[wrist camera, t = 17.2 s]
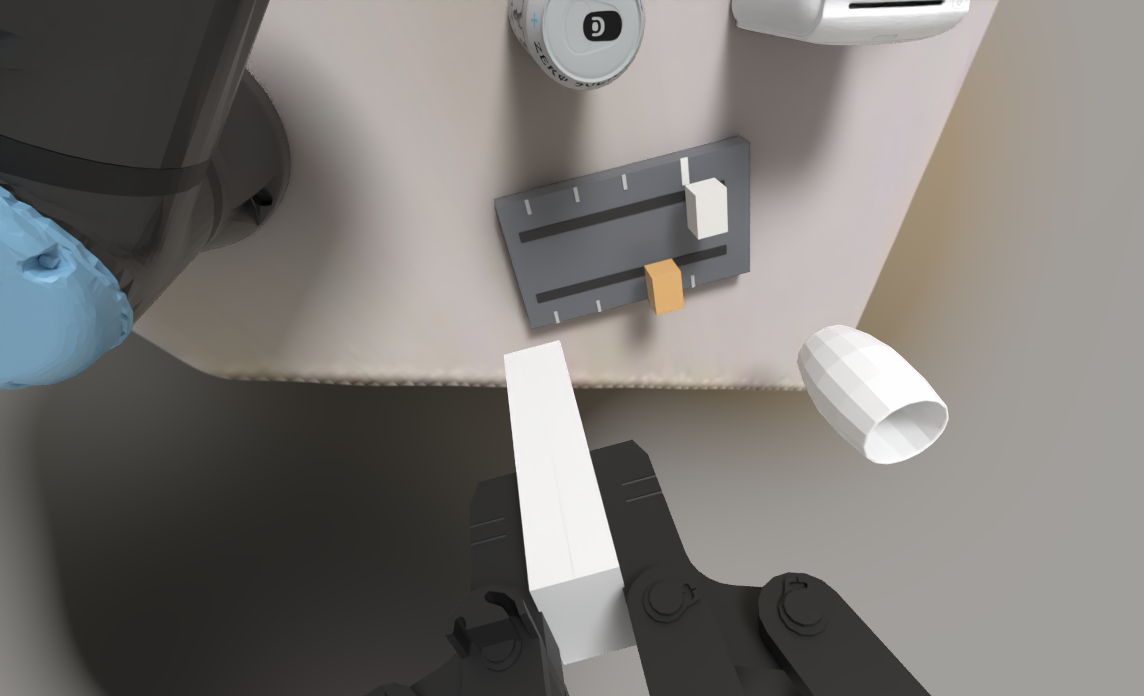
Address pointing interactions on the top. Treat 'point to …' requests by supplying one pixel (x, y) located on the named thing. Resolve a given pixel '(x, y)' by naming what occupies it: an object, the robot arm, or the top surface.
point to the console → (623, 231)
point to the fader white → (706, 208)
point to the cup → (870, 394)
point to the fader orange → (664, 286)
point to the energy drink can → (580, 37)
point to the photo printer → (850, 19)
